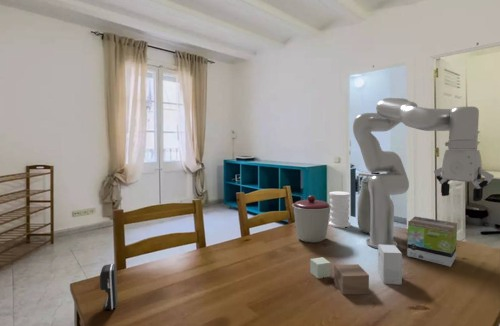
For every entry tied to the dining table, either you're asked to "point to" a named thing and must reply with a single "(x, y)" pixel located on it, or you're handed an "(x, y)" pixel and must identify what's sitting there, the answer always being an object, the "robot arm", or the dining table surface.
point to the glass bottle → (364, 206)
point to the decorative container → (339, 209)
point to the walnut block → (351, 279)
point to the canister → (311, 219)
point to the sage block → (320, 267)
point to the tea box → (432, 240)
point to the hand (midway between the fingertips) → (460, 198)
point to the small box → (390, 264)
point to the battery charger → (109, 285)
